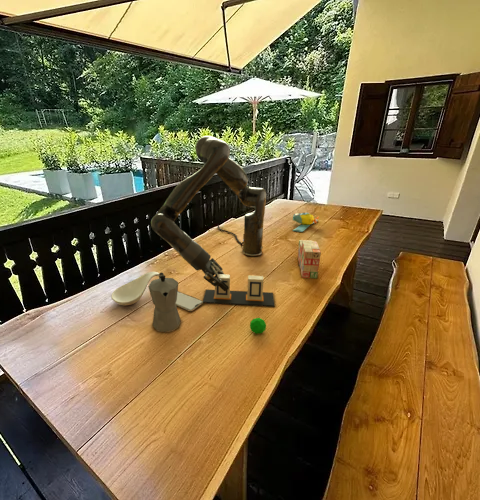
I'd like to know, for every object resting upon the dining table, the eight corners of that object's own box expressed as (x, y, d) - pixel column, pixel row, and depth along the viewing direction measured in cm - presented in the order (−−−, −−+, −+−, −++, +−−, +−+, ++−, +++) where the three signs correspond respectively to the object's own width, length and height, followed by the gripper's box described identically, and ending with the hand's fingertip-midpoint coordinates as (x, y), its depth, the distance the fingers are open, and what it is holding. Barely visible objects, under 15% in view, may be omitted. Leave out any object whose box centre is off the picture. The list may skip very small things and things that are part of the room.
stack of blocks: (297, 257, 147) (299, 233, 142) (310, 258, 146) (313, 234, 141) (302, 277, 127) (305, 251, 123) (317, 278, 126) (321, 251, 121)
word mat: (202, 303, 111) (202, 301, 110) (205, 290, 119) (205, 289, 119) (274, 306, 107) (274, 305, 107) (272, 293, 116) (272, 292, 115)
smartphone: (173, 289, 119) (203, 301, 110) (174, 291, 119) (203, 302, 111) (160, 297, 113) (191, 310, 105) (160, 299, 114) (191, 312, 105)
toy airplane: (309, 219, 174) (285, 216, 183) (308, 233, 177) (284, 229, 186) (325, 209, 194) (302, 206, 203) (323, 222, 197) (301, 218, 206)
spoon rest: (125, 314, 105) (122, 296, 103) (106, 302, 112) (103, 285, 110) (173, 287, 122) (172, 271, 119) (154, 279, 129) (153, 264, 126)
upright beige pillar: (247, 295, 114) (248, 275, 111) (261, 295, 113) (263, 275, 110) (247, 299, 111) (248, 279, 108) (262, 300, 110) (263, 280, 107)
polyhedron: (254, 325, 98) (255, 312, 96) (268, 331, 95) (269, 318, 93) (246, 332, 94) (247, 320, 93) (260, 339, 91) (261, 326, 90)
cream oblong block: (215, 293, 115) (215, 273, 112) (229, 294, 115) (230, 274, 111) (214, 298, 112) (214, 277, 109) (229, 298, 112) (229, 278, 109)
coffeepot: (183, 334, 95) (180, 283, 88) (153, 338, 93) (148, 288, 86) (177, 307, 108) (174, 262, 101) (150, 311, 107) (146, 265, 100)
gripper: (198, 256, 101) (234, 289, 104) (204, 241, 114) (235, 270, 117) (184, 270, 103) (218, 301, 106) (191, 253, 116) (222, 282, 120)
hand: (227, 285), depth 112 cm, fingers open, 5 cm apart
